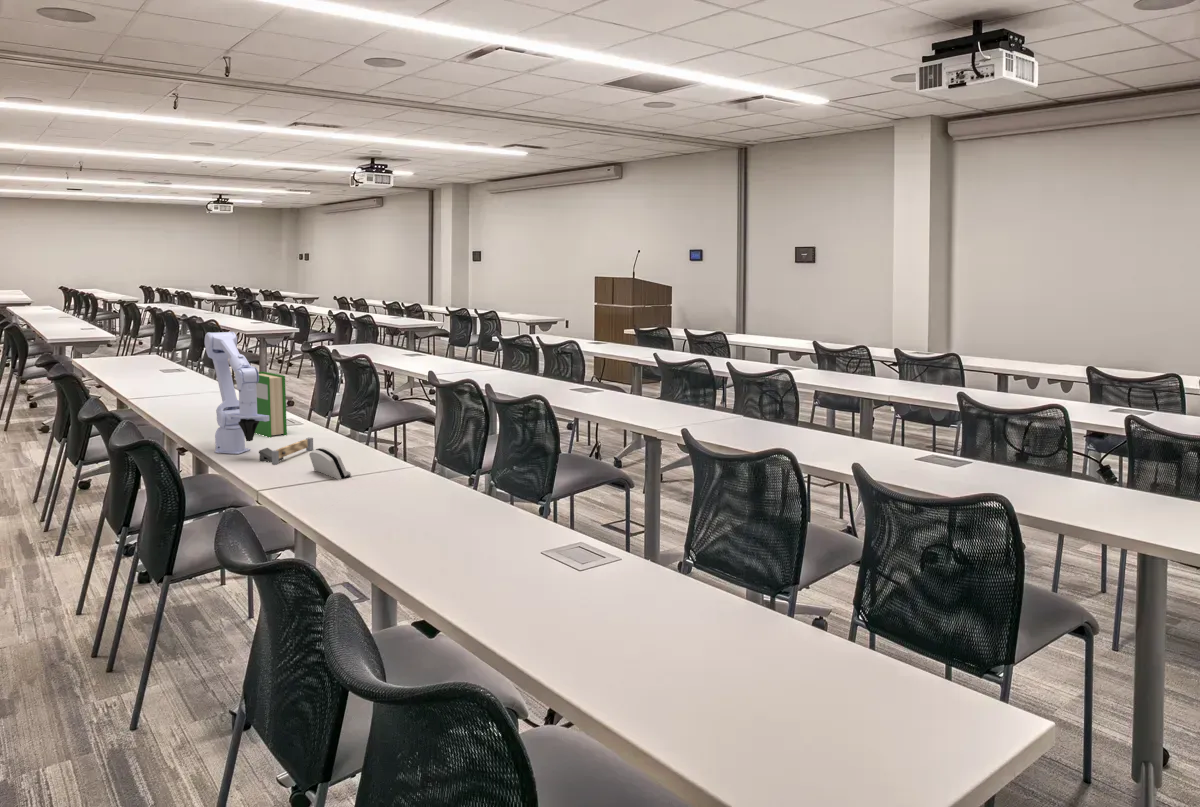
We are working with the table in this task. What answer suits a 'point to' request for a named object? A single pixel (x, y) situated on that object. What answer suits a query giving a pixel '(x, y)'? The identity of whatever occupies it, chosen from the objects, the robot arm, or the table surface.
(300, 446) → the gate
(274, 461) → the pair of grey posts
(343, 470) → the grey arched piece
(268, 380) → the hardback book
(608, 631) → the table surface
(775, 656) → the table surface
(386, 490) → the table surface
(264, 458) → the wedge
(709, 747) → the table surface
